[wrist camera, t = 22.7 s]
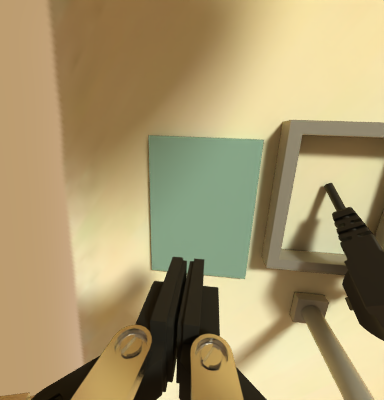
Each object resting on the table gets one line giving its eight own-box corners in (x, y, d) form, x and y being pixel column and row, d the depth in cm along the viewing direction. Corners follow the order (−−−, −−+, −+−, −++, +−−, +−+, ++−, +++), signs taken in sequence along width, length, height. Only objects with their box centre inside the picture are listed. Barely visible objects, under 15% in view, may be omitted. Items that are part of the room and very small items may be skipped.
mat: (150, 135, 19) (148, 135, 18) (262, 139, 18) (263, 139, 17) (153, 266, 23) (151, 269, 22) (244, 275, 22) (245, 278, 21)
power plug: (364, 164, 16) (494, 355, 10) (376, 195, 21) (469, 336, 15) (293, 196, 19) (358, 353, 13) (318, 216, 24) (374, 338, 18)
